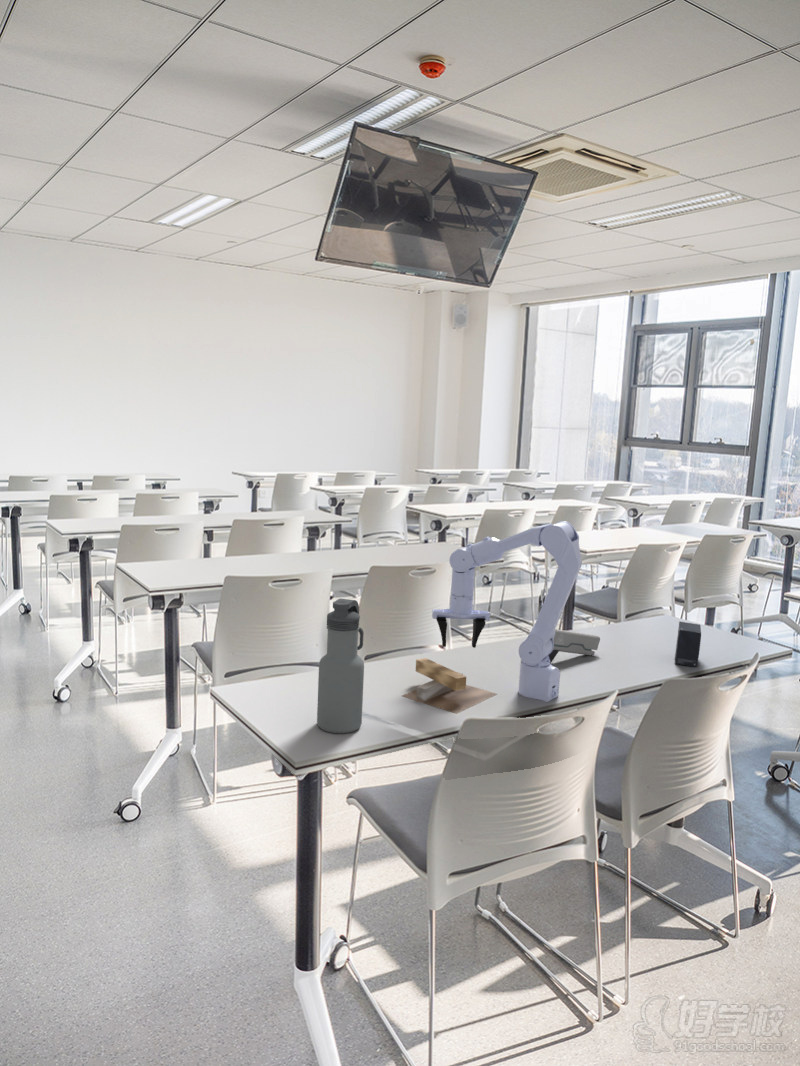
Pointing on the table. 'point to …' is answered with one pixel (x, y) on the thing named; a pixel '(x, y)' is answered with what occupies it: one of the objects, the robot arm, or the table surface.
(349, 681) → the water bottle
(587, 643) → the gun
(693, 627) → the small box
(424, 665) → the oak bar
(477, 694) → the stand
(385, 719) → the table surface
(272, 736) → the table surface
